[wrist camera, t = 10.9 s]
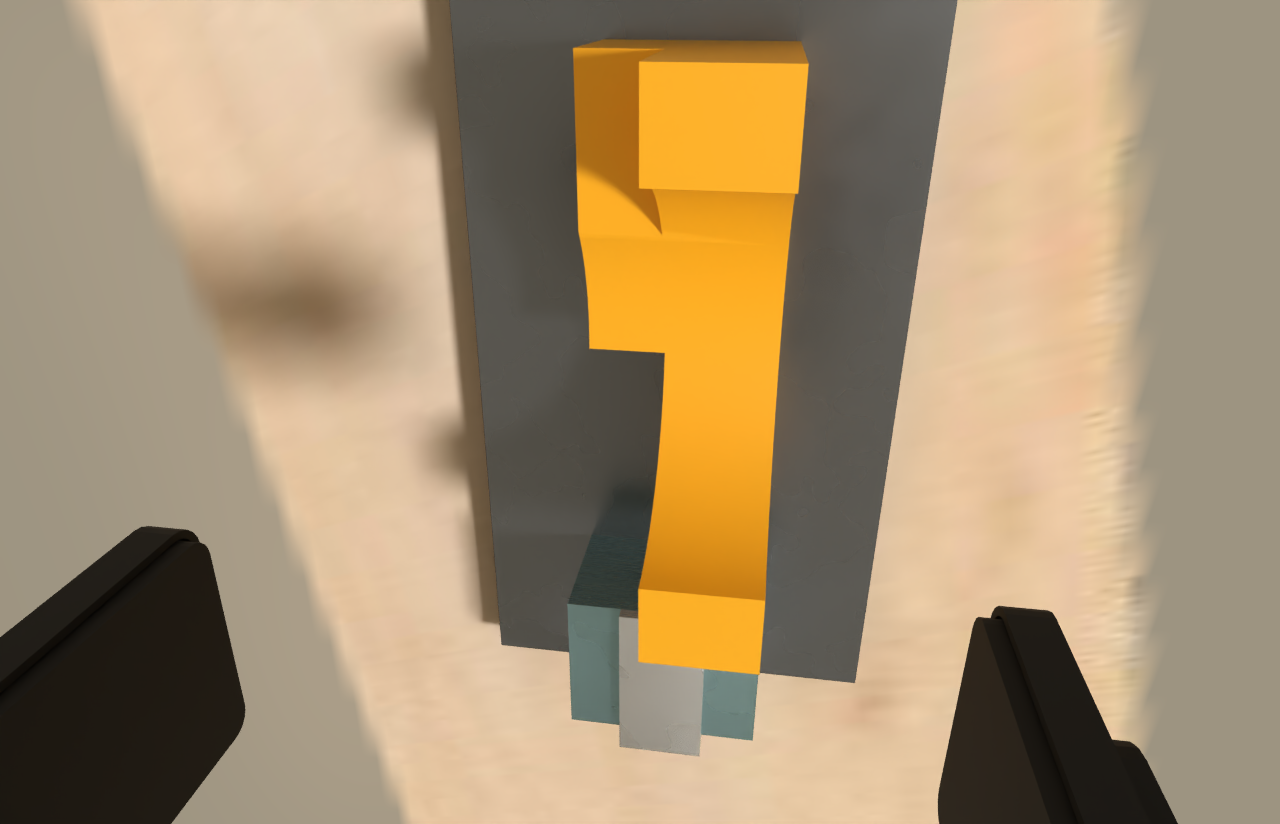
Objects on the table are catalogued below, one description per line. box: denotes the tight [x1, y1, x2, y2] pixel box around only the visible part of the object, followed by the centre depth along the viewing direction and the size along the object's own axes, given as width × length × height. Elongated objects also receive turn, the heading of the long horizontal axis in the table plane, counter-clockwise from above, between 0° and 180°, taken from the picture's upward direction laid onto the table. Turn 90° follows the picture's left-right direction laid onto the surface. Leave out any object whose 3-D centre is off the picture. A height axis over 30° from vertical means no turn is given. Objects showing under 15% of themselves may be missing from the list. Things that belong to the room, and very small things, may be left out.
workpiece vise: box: [449, 0, 957, 756], centre depth 21 cm, size 24×11×4 cm, turn 0°
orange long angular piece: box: [573, 39, 809, 675], centre depth 19 cm, size 12×4×6 cm, turn 0°
